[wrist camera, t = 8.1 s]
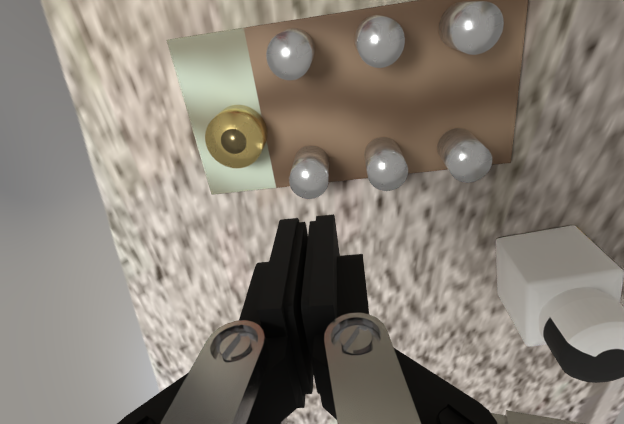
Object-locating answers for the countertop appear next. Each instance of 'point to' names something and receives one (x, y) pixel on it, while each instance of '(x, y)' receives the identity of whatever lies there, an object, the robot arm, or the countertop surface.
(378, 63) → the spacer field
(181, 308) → the countertop surface
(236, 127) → the brass knob
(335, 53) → the board
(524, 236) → the medicine bottle
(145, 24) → the countertop surface
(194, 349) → the countertop surface
